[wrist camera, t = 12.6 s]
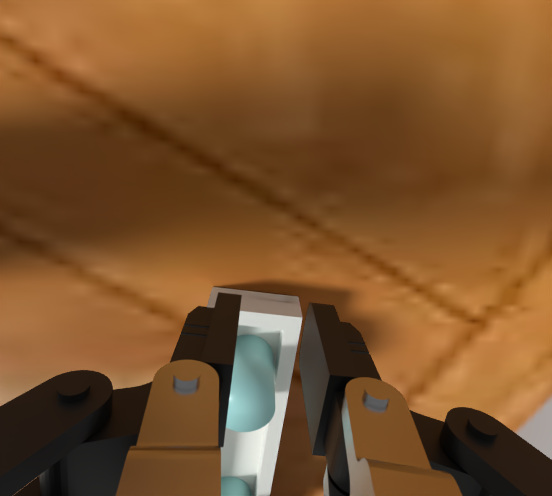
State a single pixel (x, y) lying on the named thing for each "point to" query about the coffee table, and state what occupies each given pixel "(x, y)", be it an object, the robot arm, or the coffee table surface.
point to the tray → (285, 344)
